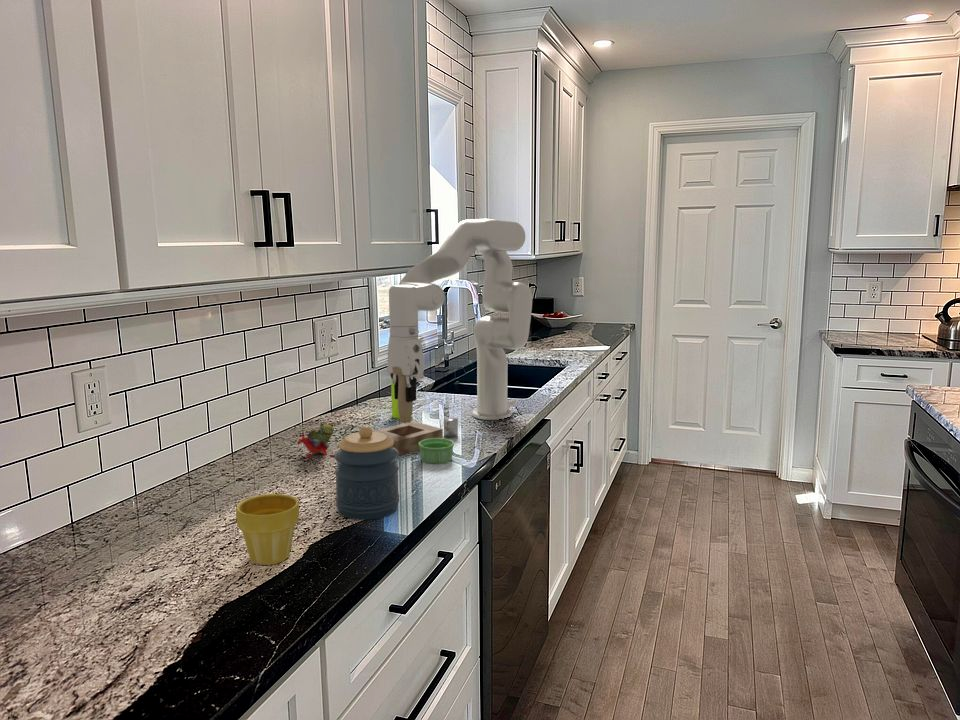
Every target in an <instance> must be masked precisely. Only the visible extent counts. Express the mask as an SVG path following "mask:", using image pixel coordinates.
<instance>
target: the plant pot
mask: <svg viewBox="0 0 960 720" xmlns="http://www.w3.org/2000/svg"><path fill="white" fill-rule="evenodd" d="M235 513H236V514H235V515H236V526H237V528H238V529H239V530H240V531H241V533H242V536H243V539H244V542H245V546H246V550H247V552H248V556H249V560H250V561H251V562H252V563H253V564H256V565H261V566H270V565H275V564H279V563H283V562H284V561H286V560H287V559H288V558H289V556H290V555H291V549H292V543H293V537H294V532H295V526H296V524H298V522H299V520H300V502H299V500H298V499H297V497H294V496H292V495H289V494H282V493H270V494H269V493H268V494H262V495H261V494H260V495H257V496H252V497H249V498H246V499H244V500H242V501H240V502H239V503H238V504H237V505H236V508H235Z"/></svg>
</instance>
